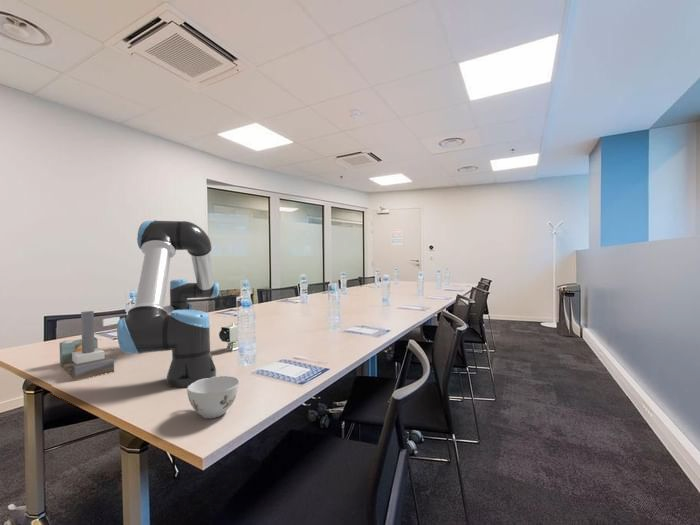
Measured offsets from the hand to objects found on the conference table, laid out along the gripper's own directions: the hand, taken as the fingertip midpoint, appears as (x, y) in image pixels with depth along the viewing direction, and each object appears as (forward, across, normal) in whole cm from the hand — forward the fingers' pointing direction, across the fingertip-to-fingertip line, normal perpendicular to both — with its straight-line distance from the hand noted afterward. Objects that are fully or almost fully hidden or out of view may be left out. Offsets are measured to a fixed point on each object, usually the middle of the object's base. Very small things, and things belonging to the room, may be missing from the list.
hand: (114, 323), depth 130 cm
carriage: (+10, 0, -13) cm, 17 cm away
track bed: (+8, +4, -16) cm, 18 cm away
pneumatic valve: (-29, -33, -16) cm, 47 cm away
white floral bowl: (+22, -69, -16) cm, 74 cm away
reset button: (+5, +12, -12) cm, 18 cm away
